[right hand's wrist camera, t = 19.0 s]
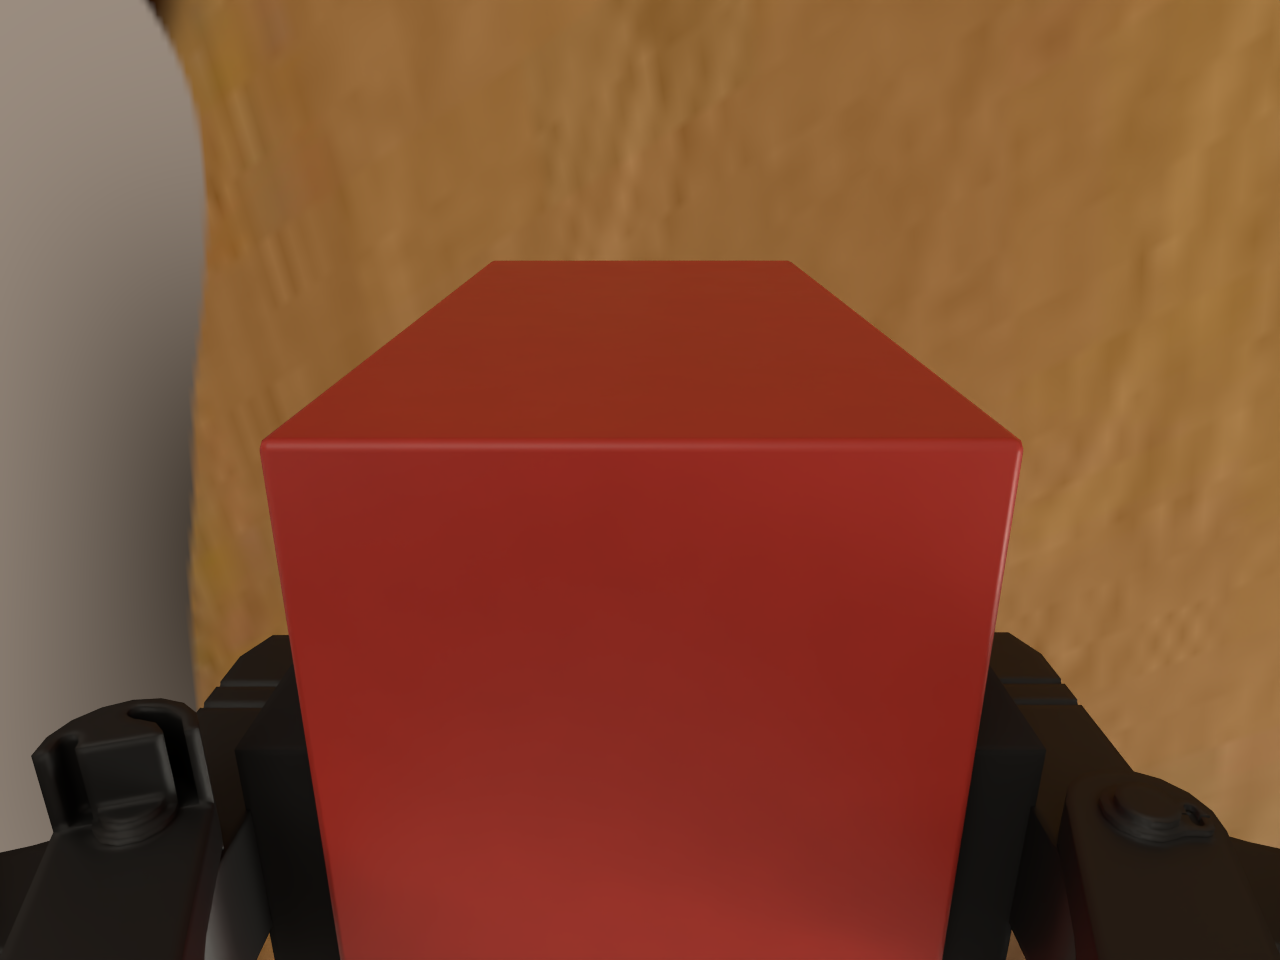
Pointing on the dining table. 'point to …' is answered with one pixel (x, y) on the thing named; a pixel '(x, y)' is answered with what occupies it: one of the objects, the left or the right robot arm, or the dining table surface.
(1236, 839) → the right robot arm
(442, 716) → the brick
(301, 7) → the dining table surface
